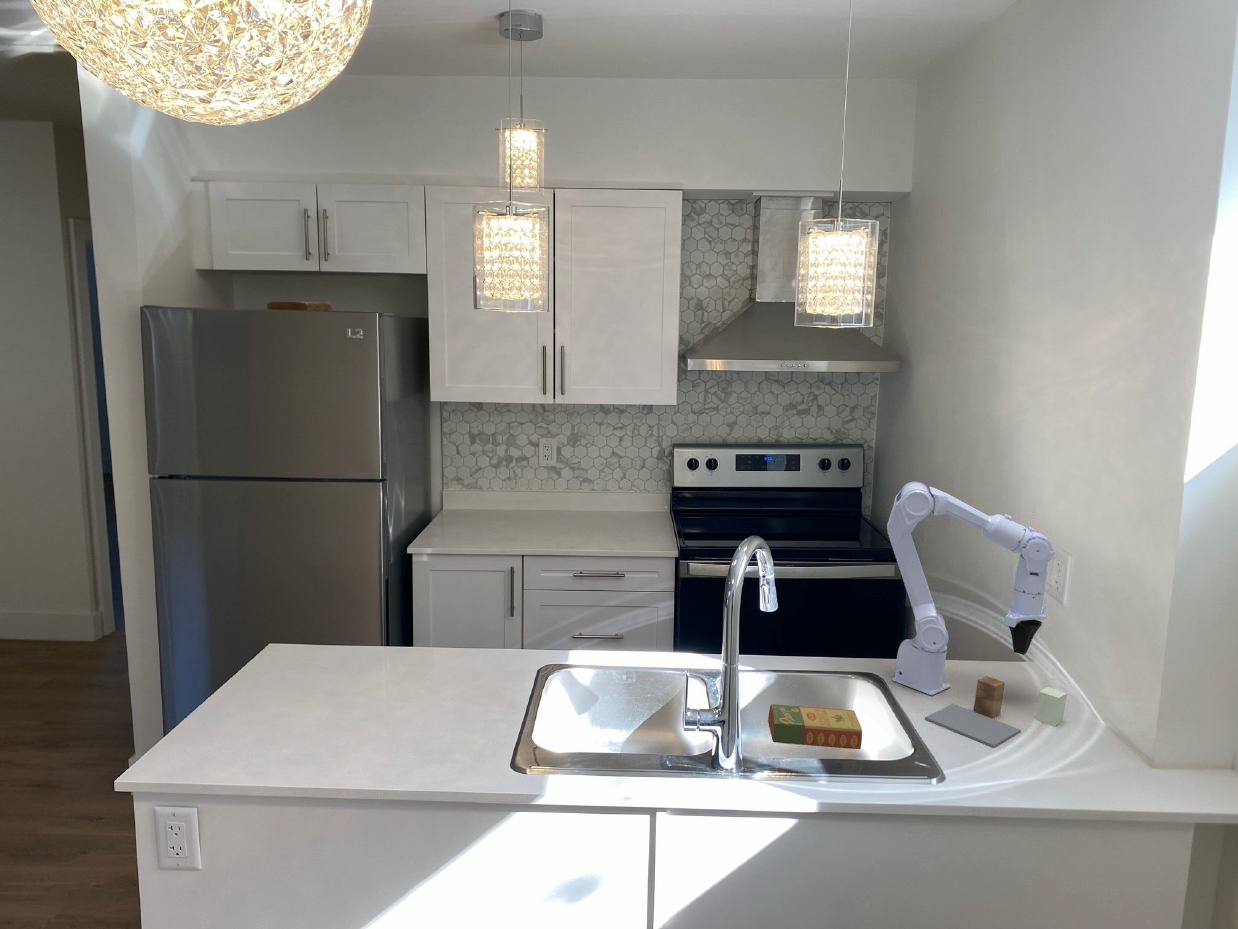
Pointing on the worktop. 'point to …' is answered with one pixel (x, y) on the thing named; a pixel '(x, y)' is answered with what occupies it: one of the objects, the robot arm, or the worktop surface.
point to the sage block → (1050, 706)
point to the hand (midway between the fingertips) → (1019, 652)
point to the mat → (973, 725)
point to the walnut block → (989, 697)
